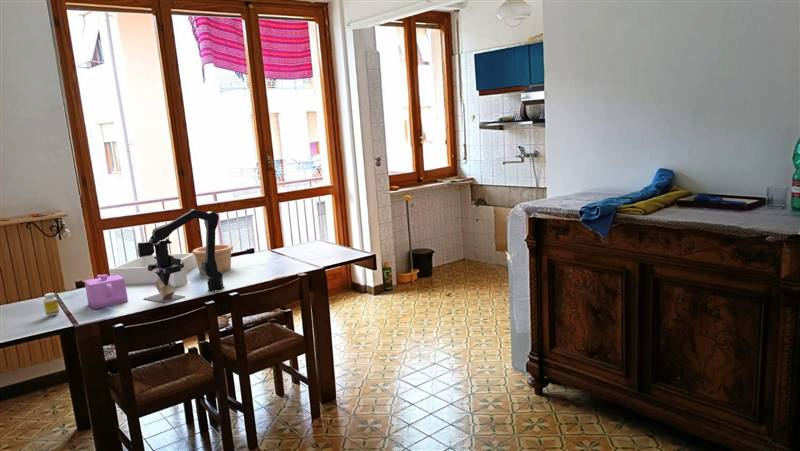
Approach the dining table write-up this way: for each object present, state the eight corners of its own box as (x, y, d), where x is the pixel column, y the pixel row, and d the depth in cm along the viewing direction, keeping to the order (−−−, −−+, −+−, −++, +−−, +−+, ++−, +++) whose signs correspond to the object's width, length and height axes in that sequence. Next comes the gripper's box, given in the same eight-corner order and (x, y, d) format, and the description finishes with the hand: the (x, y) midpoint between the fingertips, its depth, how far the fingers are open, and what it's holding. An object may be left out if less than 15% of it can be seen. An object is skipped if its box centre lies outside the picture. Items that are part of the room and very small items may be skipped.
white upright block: (166, 286, 305) (163, 264, 303) (179, 282, 312) (176, 261, 310) (177, 287, 300) (174, 265, 298) (190, 283, 307) (187, 262, 305)
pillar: (174, 291, 279) (166, 276, 281) (166, 294, 275) (157, 279, 278) (171, 296, 282) (162, 281, 284) (163, 299, 278) (154, 284, 280)
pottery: (210, 279, 314) (207, 253, 312) (187, 275, 328) (184, 250, 325) (243, 270, 331) (240, 245, 329) (220, 266, 345) (217, 243, 342)
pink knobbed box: (118, 294, 296) (114, 267, 294) (130, 303, 276) (126, 275, 274) (85, 301, 287) (81, 274, 285) (95, 311, 267) (90, 282, 265)
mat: (185, 297, 281) (185, 296, 280) (164, 303, 272) (164, 302, 272) (163, 293, 291) (163, 292, 291) (143, 299, 282) (143, 298, 282)
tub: (198, 267, 346) (196, 252, 344) (171, 282, 312) (169, 266, 311) (144, 270, 349) (142, 255, 348) (112, 285, 316) (109, 269, 314)
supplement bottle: (44, 314, 268) (40, 294, 266) (57, 311, 272) (53, 291, 270) (48, 316, 264) (44, 296, 262) (61, 313, 268) (57, 293, 266)
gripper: (188, 251, 277) (192, 283, 279) (165, 249, 287) (169, 279, 290) (167, 256, 268) (172, 289, 270) (145, 253, 279) (149, 285, 281)
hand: (166, 285), depth 278 cm, fingers closed
